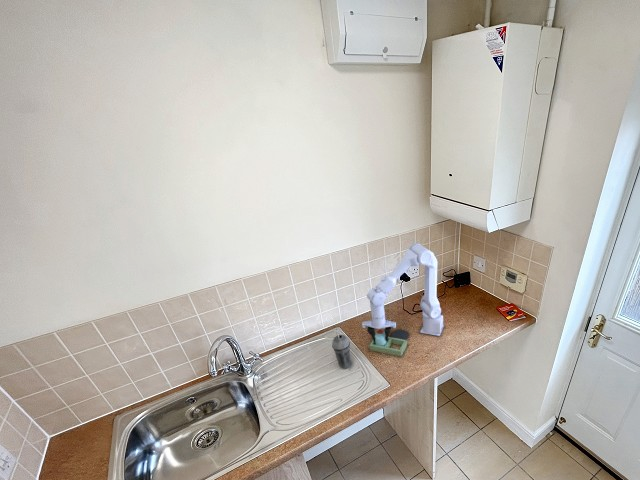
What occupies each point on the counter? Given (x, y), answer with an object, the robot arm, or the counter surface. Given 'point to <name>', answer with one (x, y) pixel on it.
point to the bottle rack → (387, 346)
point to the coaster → (400, 334)
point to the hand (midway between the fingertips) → (380, 339)
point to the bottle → (380, 338)
